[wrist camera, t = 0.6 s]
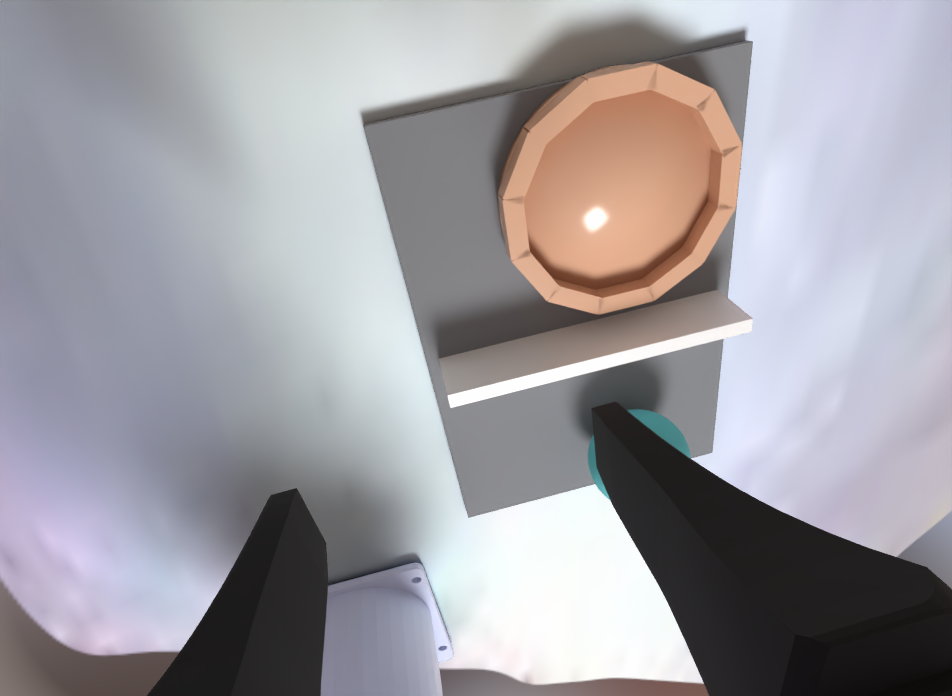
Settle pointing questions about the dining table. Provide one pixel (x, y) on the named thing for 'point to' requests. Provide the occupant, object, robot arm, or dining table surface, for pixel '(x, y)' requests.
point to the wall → (591, 346)
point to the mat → (529, 294)
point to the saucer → (619, 186)
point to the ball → (657, 425)
